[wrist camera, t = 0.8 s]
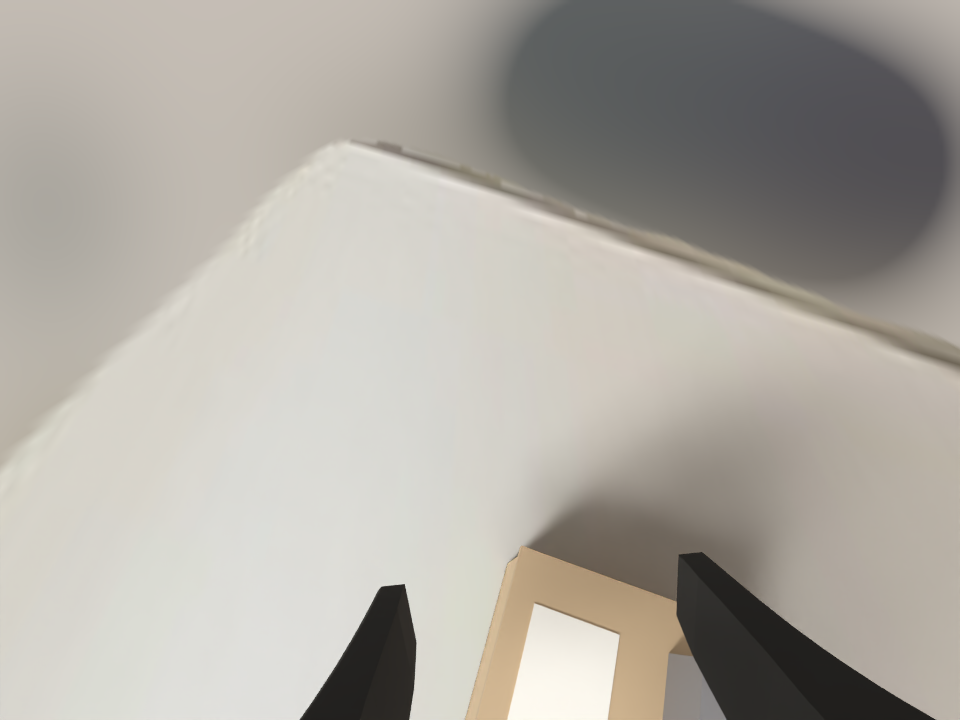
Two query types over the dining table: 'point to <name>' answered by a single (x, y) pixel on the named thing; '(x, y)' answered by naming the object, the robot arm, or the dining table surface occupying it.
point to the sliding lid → (589, 651)
